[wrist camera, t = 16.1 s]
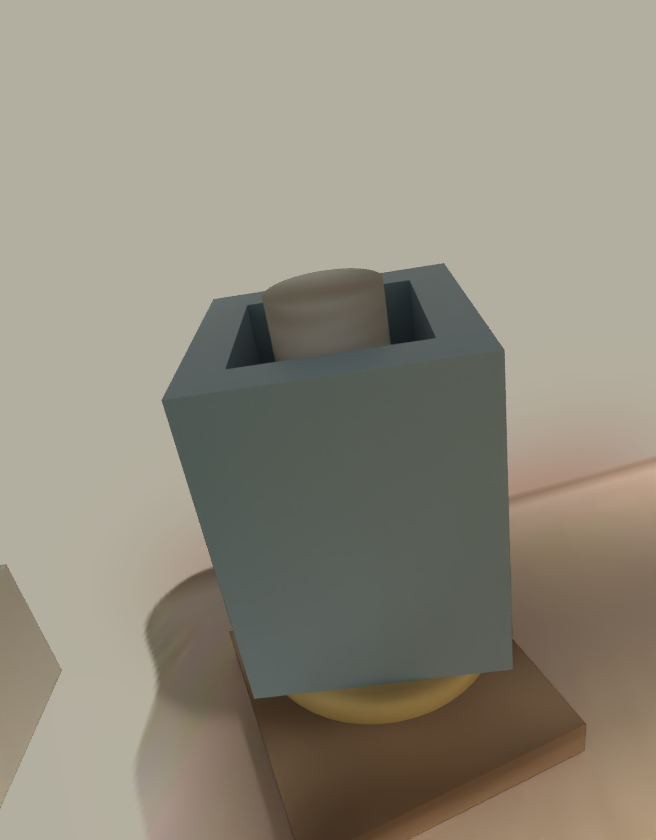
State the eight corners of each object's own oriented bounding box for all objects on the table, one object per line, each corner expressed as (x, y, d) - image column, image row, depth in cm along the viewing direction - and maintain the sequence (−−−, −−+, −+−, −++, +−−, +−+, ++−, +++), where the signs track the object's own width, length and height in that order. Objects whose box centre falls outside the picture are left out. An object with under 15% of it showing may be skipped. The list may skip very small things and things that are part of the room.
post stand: (584, 749, 24) (610, 279, 15) (309, 888, 21) (159, 409, 13) (438, 573, 33) (405, 223, 25) (236, 653, 30) (122, 291, 22)
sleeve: (512, 669, 20) (504, 350, 15) (254, 698, 21) (161, 400, 16) (461, 512, 28) (444, 263, 22) (272, 537, 28) (213, 299, 23)
